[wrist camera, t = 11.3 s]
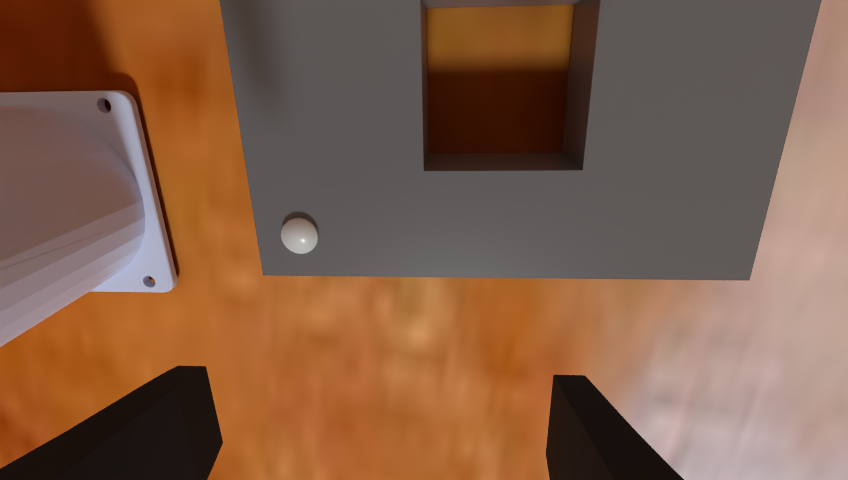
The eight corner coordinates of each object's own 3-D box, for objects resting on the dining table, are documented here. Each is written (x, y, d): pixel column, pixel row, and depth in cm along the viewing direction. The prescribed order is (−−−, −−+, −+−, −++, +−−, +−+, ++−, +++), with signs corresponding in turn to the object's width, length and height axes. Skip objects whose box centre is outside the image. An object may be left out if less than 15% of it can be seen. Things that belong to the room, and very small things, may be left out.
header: (291, 243, 19) (260, 277, 16) (245, -115, 14) (190, -162, 11) (702, 245, 18) (753, 283, 15) (784, -142, 13) (879, -200, 10)
